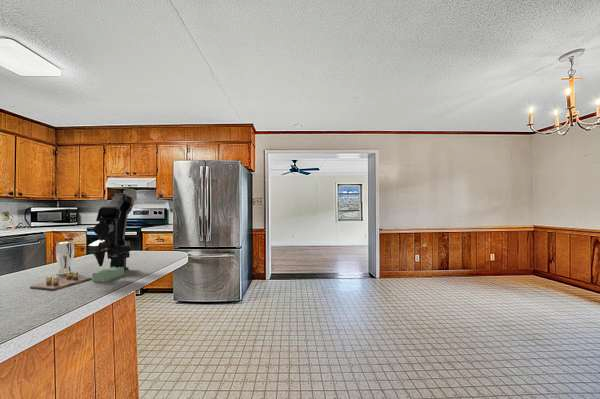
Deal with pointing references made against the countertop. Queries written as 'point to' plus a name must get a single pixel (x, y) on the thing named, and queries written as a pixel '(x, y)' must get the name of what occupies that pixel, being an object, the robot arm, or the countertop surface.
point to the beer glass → (64, 257)
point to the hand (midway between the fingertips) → (108, 266)
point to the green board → (107, 274)
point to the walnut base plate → (61, 282)
